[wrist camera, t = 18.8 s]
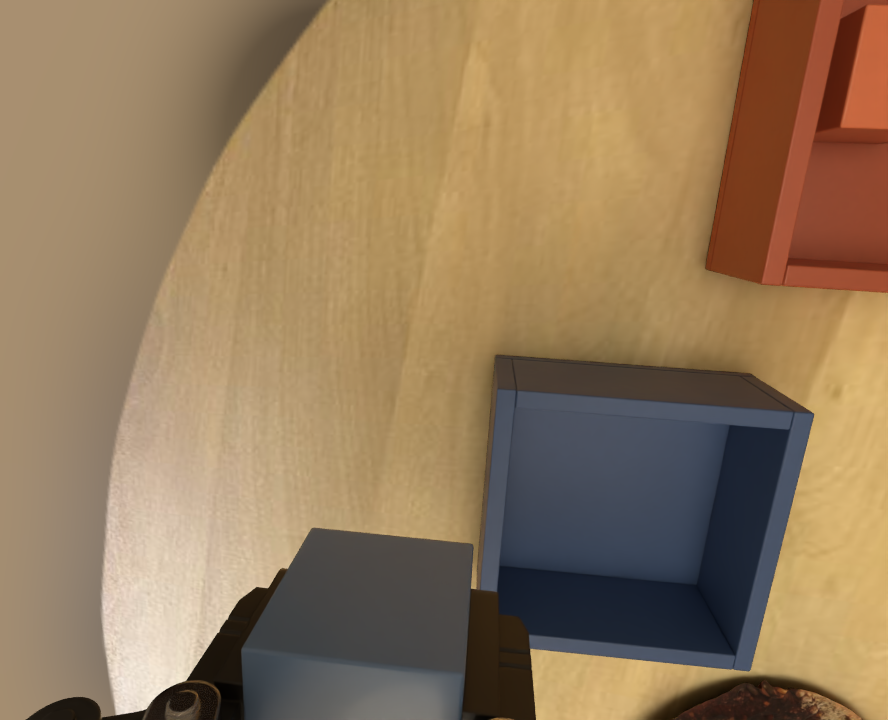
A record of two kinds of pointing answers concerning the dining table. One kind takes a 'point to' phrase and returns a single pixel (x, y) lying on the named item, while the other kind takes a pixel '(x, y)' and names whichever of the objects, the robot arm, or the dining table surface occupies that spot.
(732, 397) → the blue bin
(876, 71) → the terracotta block
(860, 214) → the terracotta bin
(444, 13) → the dining table surface
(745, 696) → the cactus
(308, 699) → the blue block
